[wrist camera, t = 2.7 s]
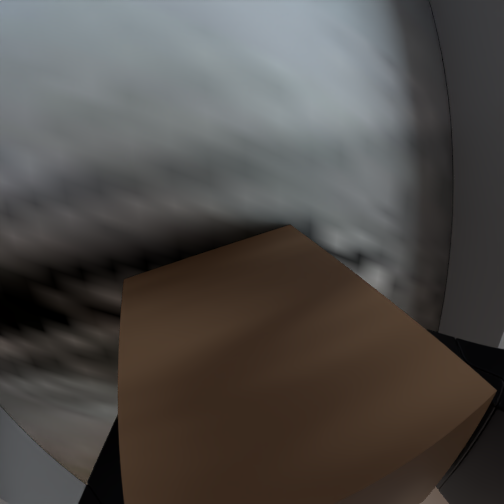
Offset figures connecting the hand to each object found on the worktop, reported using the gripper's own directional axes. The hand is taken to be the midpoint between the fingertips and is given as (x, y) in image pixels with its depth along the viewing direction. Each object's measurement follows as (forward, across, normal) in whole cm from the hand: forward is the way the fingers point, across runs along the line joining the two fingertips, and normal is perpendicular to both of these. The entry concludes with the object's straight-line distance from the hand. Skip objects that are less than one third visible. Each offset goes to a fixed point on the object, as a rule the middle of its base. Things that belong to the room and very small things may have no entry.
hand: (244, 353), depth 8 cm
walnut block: (+2, 0, 0) cm, 2 cm away
